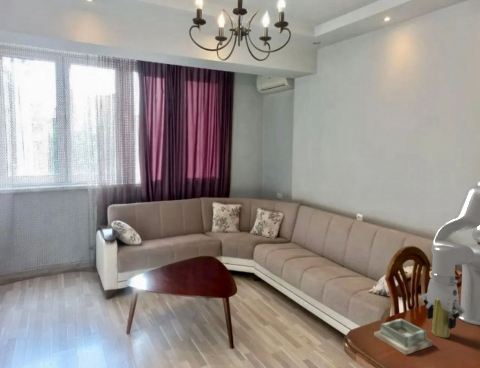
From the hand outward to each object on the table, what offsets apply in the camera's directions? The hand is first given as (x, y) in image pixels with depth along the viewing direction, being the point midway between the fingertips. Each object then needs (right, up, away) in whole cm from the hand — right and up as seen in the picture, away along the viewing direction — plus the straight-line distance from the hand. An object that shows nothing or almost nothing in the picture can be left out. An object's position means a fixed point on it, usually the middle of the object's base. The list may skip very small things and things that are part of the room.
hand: (440, 322), depth 132 cm
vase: (0, -5, 0) cm, 5 cm away
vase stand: (-17, -5, -4) cm, 18 cm away
